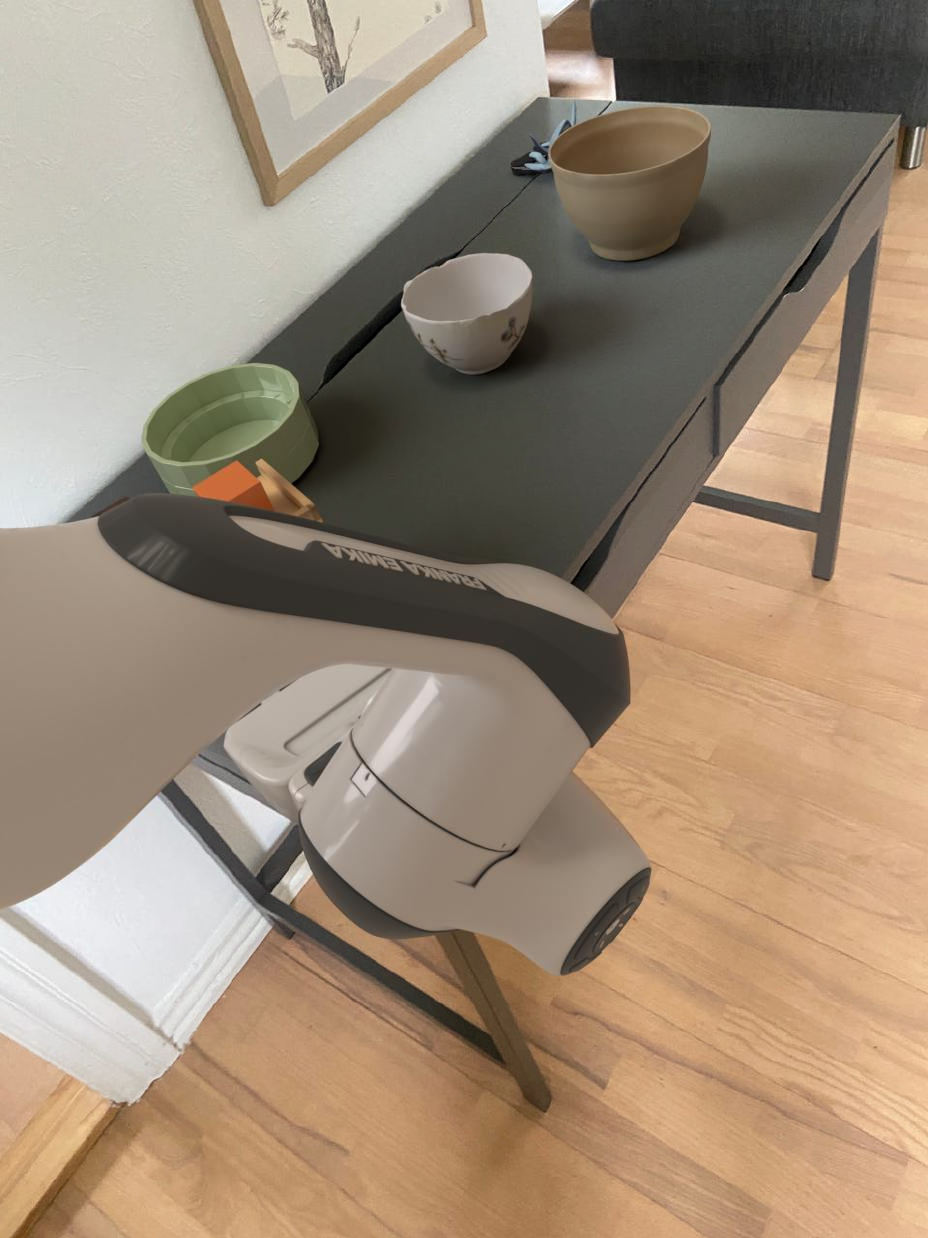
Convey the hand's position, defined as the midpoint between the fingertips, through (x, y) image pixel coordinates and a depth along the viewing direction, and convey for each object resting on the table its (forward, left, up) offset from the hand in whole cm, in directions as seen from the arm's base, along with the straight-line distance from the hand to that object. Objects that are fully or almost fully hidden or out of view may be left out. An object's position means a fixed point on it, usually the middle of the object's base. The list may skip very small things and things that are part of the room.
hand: (318, 624), depth 64 cm
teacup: (-8, +39, -5) cm, 40 cm away
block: (-6, +3, +6) cm, 9 cm away
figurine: (-15, +79, -5) cm, 80 cm away
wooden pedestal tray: (-6, +3, -5) cm, 8 cm away
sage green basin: (-23, +19, -5) cm, 30 cm away
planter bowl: (+1, +62, -5) cm, 62 cm away
